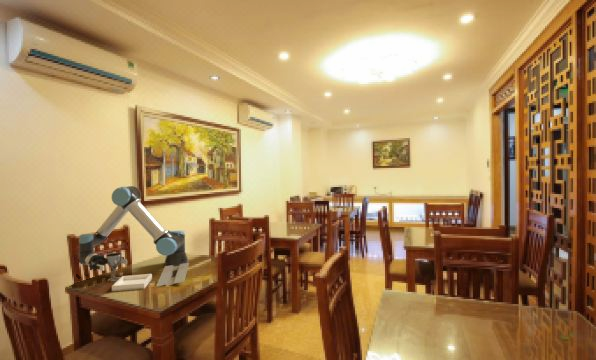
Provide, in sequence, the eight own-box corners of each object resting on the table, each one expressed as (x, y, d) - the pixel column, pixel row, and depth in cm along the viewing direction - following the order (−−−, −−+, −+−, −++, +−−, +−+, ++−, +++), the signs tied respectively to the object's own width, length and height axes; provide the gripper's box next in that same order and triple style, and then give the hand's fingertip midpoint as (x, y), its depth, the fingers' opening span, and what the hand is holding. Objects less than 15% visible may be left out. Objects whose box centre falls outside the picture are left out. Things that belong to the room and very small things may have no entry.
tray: (152, 278, 178) (151, 273, 178) (144, 288, 162) (144, 283, 162) (122, 281, 174) (122, 276, 174) (111, 291, 159) (111, 286, 158)
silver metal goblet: (112, 276, 182) (111, 252, 181) (125, 276, 182) (124, 252, 181) (103, 281, 174) (102, 256, 174) (116, 281, 174) (116, 256, 173)
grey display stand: (190, 289, 172) (194, 266, 183) (184, 281, 166) (188, 258, 177) (162, 293, 172) (167, 270, 183) (155, 286, 166) (161, 263, 177)
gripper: (115, 261, 197) (135, 265, 188) (72, 272, 175) (93, 277, 166) (115, 249, 197) (135, 253, 188) (72, 259, 175) (93, 264, 165)
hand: (115, 264), depth 177 cm, fingers open, 13 cm apart
